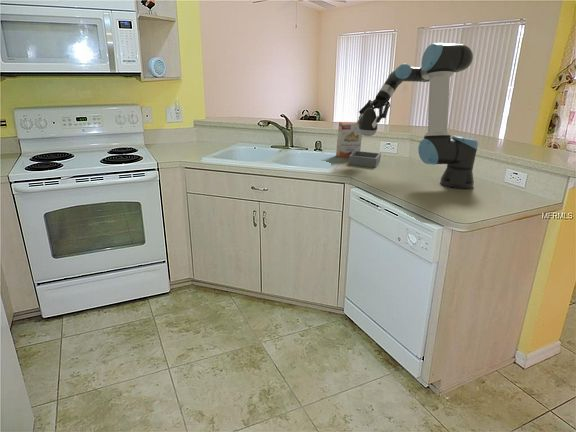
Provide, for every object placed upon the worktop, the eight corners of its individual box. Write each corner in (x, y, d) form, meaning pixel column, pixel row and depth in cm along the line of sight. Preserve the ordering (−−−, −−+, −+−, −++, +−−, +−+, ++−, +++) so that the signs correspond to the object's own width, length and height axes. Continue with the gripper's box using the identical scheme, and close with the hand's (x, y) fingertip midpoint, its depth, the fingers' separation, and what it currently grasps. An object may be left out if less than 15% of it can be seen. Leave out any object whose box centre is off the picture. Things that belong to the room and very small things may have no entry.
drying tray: (375, 167, 220) (376, 158, 218) (348, 164, 225) (349, 155, 223) (380, 161, 233) (381, 153, 231) (354, 158, 238) (355, 150, 236)
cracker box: (339, 157, 240) (342, 123, 232) (335, 155, 245) (338, 121, 238) (360, 157, 244) (363, 122, 236) (356, 154, 249) (359, 121, 241)
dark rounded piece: (375, 134, 228) (378, 107, 222) (377, 137, 218) (380, 109, 212) (357, 133, 229) (360, 106, 223) (358, 136, 219) (361, 108, 213)
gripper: (403, 101, 219) (384, 132, 214) (370, 97, 234) (351, 126, 229) (399, 91, 213) (379, 123, 209) (366, 88, 228) (347, 118, 224)
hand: (365, 125), depth 219 cm, fingers closed on dark rounded piece, 10 cm apart
